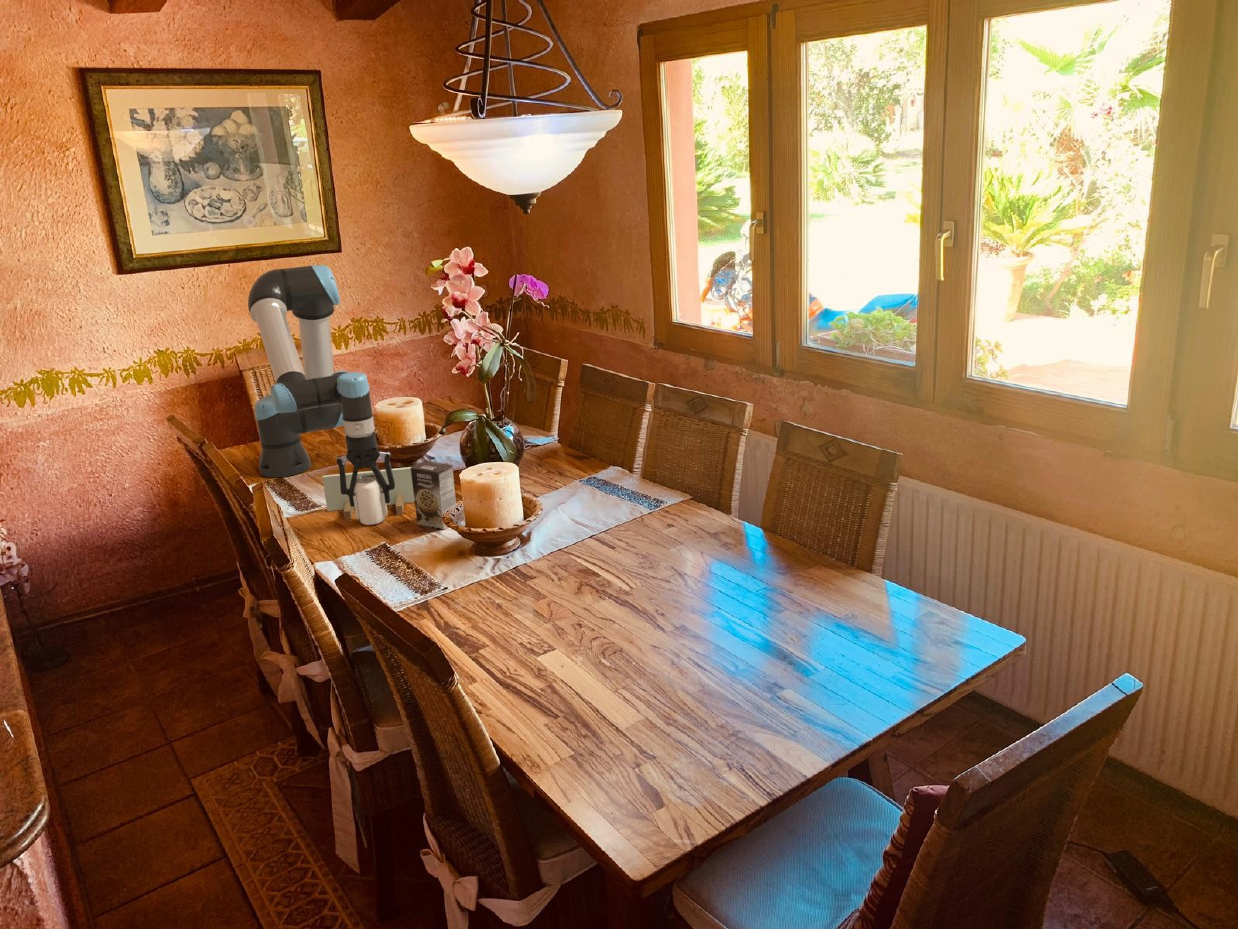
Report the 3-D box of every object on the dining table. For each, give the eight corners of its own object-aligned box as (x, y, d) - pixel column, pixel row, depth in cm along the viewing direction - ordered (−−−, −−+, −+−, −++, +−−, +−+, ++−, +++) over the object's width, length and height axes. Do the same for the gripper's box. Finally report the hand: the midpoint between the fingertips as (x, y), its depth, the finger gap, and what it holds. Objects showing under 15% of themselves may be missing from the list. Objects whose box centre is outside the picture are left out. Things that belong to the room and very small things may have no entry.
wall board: (328, 509, 254) (322, 475, 251) (423, 499, 258) (419, 466, 254) (324, 522, 246) (318, 487, 242) (423, 512, 249) (418, 477, 246)
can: (370, 527, 241) (364, 485, 236) (355, 522, 244) (348, 480, 240) (390, 519, 245) (384, 477, 241) (374, 513, 249) (368, 472, 245)
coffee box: (416, 525, 242) (408, 467, 236) (431, 515, 247) (424, 459, 241) (444, 530, 238) (437, 472, 232) (459, 521, 243) (452, 463, 237)
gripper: (319, 441, 231) (333, 525, 240) (397, 434, 234) (408, 517, 242) (323, 432, 238) (336, 513, 246) (399, 425, 241) (409, 506, 249)
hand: (372, 515), depth 244 cm, fingers closed on can, 6 cm apart
